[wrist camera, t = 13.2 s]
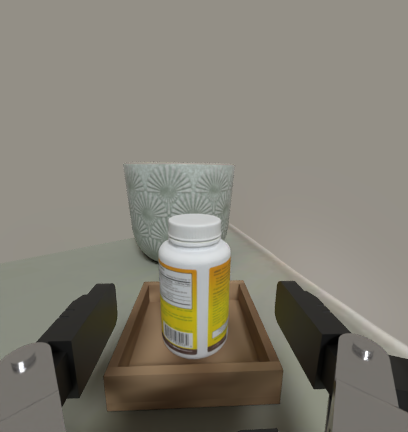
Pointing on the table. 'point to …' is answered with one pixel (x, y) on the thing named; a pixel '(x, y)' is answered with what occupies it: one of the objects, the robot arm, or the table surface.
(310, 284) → the table surface
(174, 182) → the planter
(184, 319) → the supplement bottle
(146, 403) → the tray
